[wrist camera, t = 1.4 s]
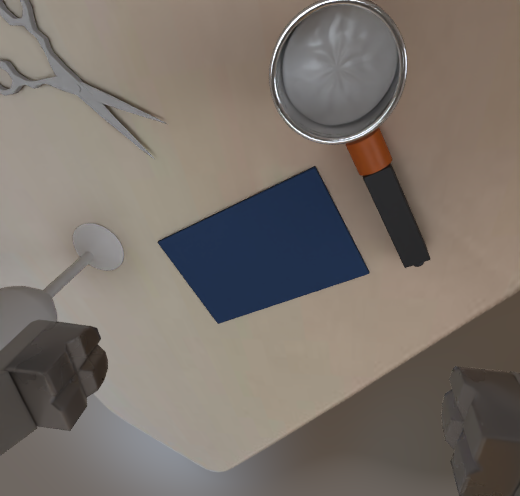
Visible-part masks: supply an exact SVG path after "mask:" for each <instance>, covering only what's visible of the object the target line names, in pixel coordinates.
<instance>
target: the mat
mask: <svg viewBox="0 0 520 496" xmlns="http://www.w3.org/2000/svg"><path fill="white" fill-rule="evenodd" d="M158 244H159V245H160V246H161V248H162V249H163V250H164V252H165V253H166V254H167V256H168V257H169V258H170V260H171V261H172V262H173V264H174V265H175V267H176V268H177V269H178V271H179V272H180V273H181V275H182V276H183V277H184V279H185V280H186V281H187V283H188V284H189V285H190V287H191V288H192V289H193V291H194V292H195V293H196V295H197V296H198V297H199V299H200V300H201V302H202V303H203V304H204V306H205V307H206V308H207V310H208V311H209V312H210V314H211V315H212V316H213V318H214V319H215V320H216V322H217V323H218V324H219V323H222V322H225V321H228V320H231V319H234V318H237V317H240V316H243V315H246V314H249V313H252V312H255V311H258V310H261V309H264V308H267V307H270V306H273V305H276V304H279V303H282V302H285V301H288V300H291V299H294V298H297V297H300V296H303V295H306V294H309V293H312V292H315V291H318V290H321V289H324V288H327V287H330V286H333V285H336V284H339V283H342V282H346V281H349V280H352V279H355V278H358V277H361V276H364V275H367V274H369V270H368V269H367V267H366V265H365V263H364V261H363V259H362V257H361V255H360V253H359V251H358V249H357V247H356V245H355V243H354V241H353V239H352V237H351V235H350V233H349V231H348V229H347V227H346V225H345V223H344V222H343V220H342V218H341V216H340V214H339V212H338V210H337V208H336V206H335V204H334V202H333V200H332V198H331V196H330V194H329V192H328V190H327V188H326V186H325V184H324V182H323V180H322V178H321V177H320V175H319V173H318V171H317V169H316V167H315V166H314V167H312V168H310V169H308V170H306V171H304V172H302V173H300V174H298V175H296V176H294V177H291V178H289V179H287V180H285V181H283V182H281V183H279V184H277V185H275V186H273V187H271V188H268V189H266V190H264V191H262V192H260V193H258V194H256V195H254V196H252V197H250V198H248V199H246V200H243V201H241V202H239V203H237V204H235V205H233V206H231V207H229V208H227V209H225V210H223V211H220V212H218V213H216V214H214V215H212V216H210V217H208V218H206V219H204V220H202V221H200V222H197V223H195V224H193V225H191V226H189V227H187V228H185V229H183V230H181V231H179V232H177V233H174V234H172V235H170V236H168V237H166V238H164V239H162V240H160V241H159V242H158Z"/></svg>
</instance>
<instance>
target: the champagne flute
mask: <svg viewBox="0 0 520 496" xmlns="http://www.w3.org/2000/svg"><path fill="white" fill-rule="evenodd" d="M73 244H74V247H75V250H76V251H77V253H78V255H79V256H80V258H79V259H77V260H76V261H75V262H74V263H73V264H72V265H71V266H70V267H68V268H67V269H66V270H65V271H64V272H63V273H62V274H61V275H59V276H58V277H57V278H56V279H55V280H54V281H53V282H51V283H50V284H49V285H48V286H47V287H46V288H45V289H44V290H41V289H36V288H31V287H26V286H11V287H5V288H1V289H0V351H1V350H2V349H3V348H4V347H5V346H6V345H7V344H8V343H9V342H10V341H11V340H12V339H13V338H15V337H16V336H17V335H18V334H19V333H20V332H21V331H22V330H23V329H24V328H25V327H26V326H27V325H28V324H30V323H31V322H33V321H36V320H38V319H40V320H47V321H54V322H56V321H57V311H56V308H55V305H54V301H53V299H52V298H53V297H54V296H55V295H56V294H57V293H58V292H59V291H60V290H61V289H62V288H63V287H64V286H65V285H66V284H67V283H69V282H70V281H71V280H72V279H73V278H74V277H75V276H76V275H77V274H78V273H79V272H80V271H81V270H82V269H83V268H84V267H86V266H87V265H88V264H89V265H91V266H92V267H94V268H97V269H100V270H106V271H108V270H114V269H116V268H118V267H119V266H120V265H121V264H122V262H123V258H124V251H123V247H122V245H121V243H120V241H119V240H118V238H117V237H116V236H115V235H114V234H113V233H112V232H111V231H109V230H108V229H106V228H105V227H103V226H100V225H97V224H92V223H87V224H83V225H80V226H79V227H77V228H76V230H75V231H74V234H73Z"/></svg>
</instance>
